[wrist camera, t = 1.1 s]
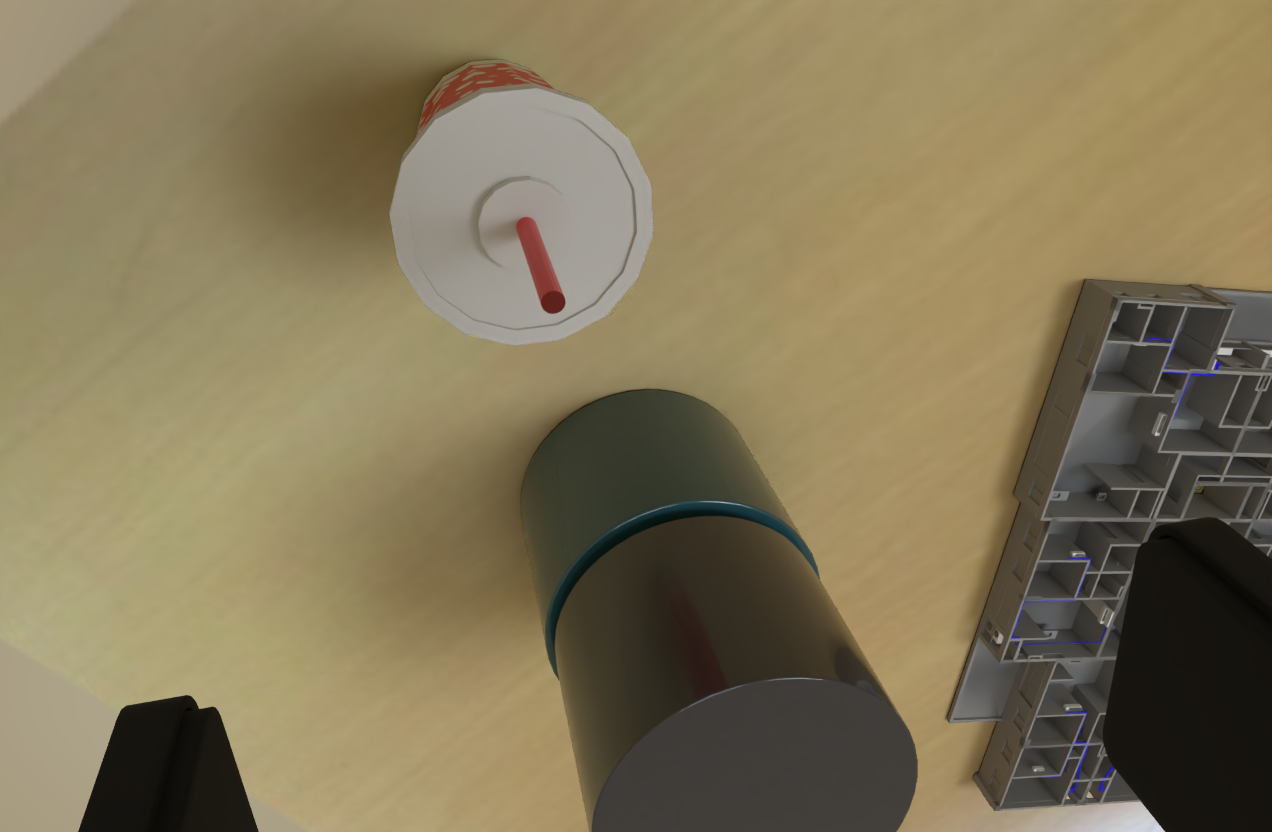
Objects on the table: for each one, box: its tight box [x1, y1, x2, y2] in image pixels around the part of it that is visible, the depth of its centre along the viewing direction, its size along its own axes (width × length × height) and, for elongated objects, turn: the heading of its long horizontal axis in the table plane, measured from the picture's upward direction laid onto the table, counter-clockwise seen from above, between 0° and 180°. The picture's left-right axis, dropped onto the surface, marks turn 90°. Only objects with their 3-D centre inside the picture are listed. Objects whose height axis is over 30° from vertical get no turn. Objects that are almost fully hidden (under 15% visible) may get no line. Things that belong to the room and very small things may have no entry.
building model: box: [947, 279, 1272, 811], centre depth 45 cm, size 25×18×2 cm
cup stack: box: [520, 390, 918, 832], centre depth 33 cm, size 9×9×15 cm
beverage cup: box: [389, 59, 653, 346], centre depth 26 cm, size 6×6×14 cm
